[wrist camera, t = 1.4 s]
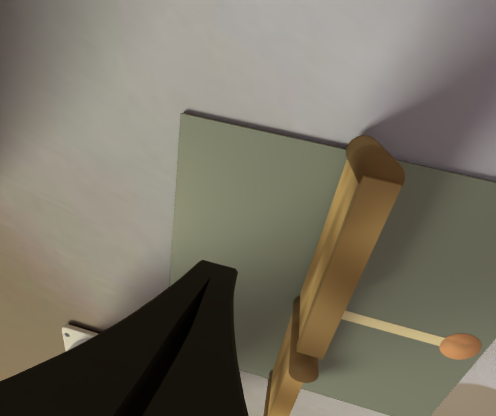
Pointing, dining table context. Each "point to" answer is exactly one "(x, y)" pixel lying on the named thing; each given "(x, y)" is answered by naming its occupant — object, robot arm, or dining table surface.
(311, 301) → the fence panel
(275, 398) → the fence fixed
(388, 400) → the card
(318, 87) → the dining table surface
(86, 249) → the dining table surface
